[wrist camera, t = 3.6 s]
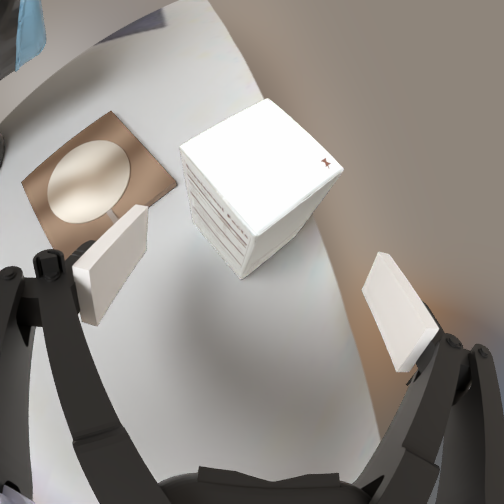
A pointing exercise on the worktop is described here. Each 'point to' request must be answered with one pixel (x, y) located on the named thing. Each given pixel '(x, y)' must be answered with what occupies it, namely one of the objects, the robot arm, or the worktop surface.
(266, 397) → the worktop surface
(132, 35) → the worktop surface
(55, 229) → the dial board
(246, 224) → the supplement box
